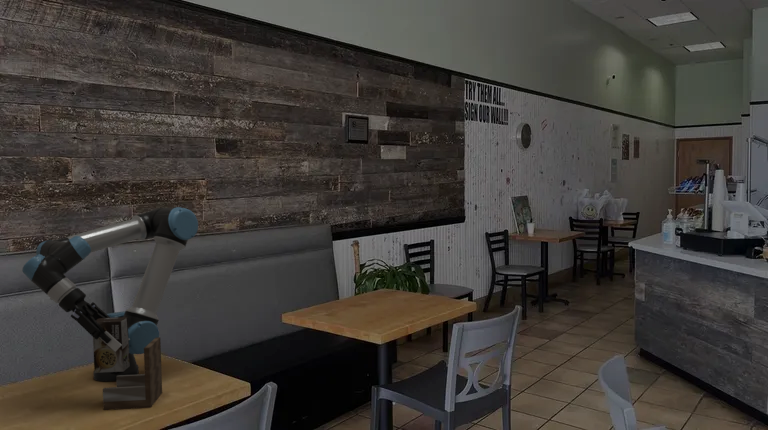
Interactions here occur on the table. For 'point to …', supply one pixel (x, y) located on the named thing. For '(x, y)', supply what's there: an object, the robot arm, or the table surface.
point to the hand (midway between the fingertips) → (122, 345)
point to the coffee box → (104, 354)
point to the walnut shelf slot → (138, 383)
